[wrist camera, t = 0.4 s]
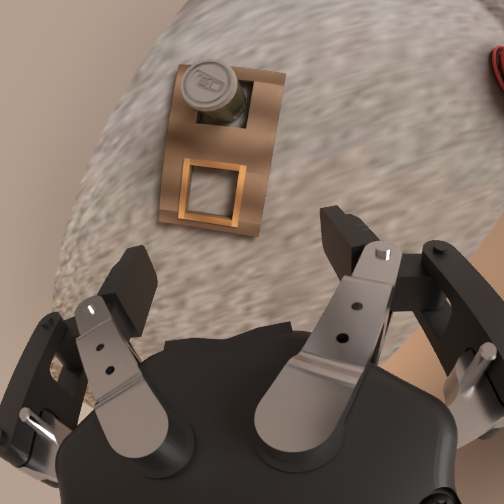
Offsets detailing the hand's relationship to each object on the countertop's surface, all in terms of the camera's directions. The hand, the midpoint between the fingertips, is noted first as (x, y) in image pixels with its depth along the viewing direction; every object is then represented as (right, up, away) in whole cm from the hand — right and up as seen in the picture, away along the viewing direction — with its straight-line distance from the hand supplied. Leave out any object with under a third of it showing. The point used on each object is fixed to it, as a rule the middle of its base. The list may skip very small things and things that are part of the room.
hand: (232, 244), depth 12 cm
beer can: (-2, +19, +21) cm, 28 cm away
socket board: (-3, +13, +22) cm, 26 cm away
